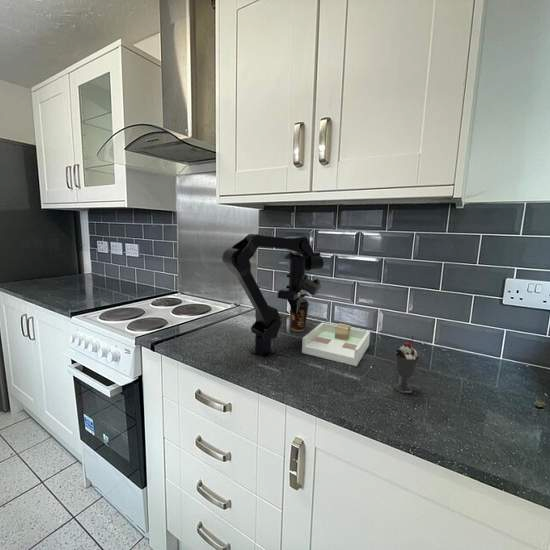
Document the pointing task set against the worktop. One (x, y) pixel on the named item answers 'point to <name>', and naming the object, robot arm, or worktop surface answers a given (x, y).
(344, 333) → the block
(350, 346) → the trap box
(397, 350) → the sundae
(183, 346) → the worktop surface
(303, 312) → the coffee cup
